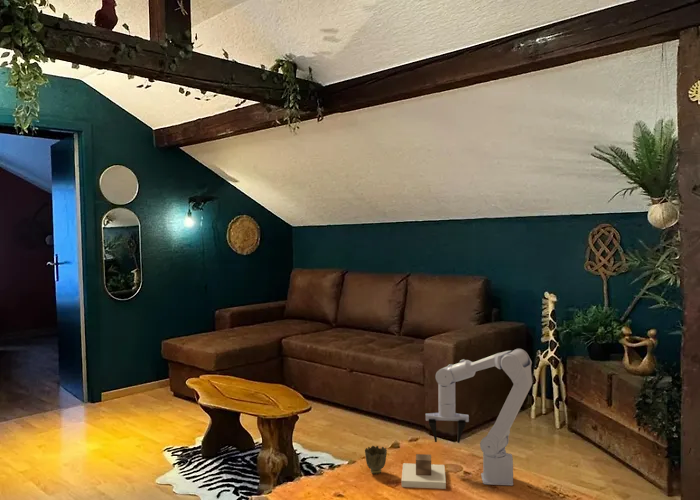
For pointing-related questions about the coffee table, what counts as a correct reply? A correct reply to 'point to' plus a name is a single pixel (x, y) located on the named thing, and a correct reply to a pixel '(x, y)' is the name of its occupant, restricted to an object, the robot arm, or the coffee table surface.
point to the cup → (375, 458)
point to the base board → (423, 477)
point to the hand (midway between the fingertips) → (447, 441)
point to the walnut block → (423, 464)
